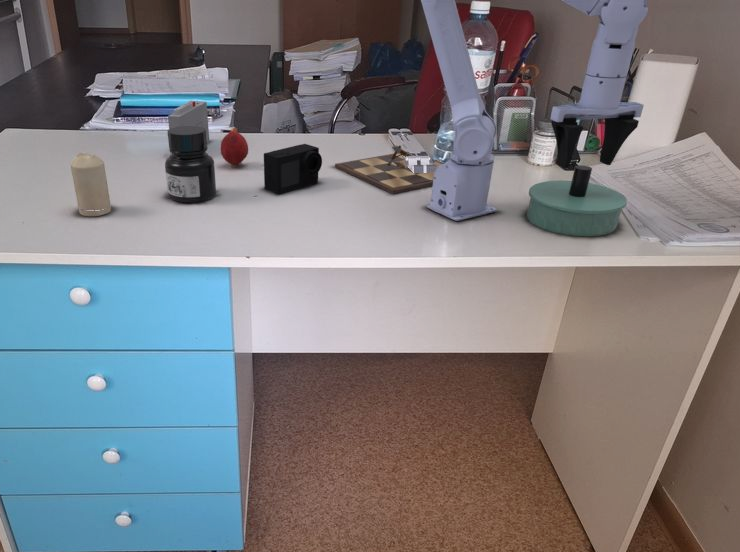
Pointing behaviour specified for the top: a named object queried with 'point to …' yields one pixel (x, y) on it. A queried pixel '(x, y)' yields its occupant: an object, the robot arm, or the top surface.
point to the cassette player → (190, 116)
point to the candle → (90, 184)
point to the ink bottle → (189, 165)
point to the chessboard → (388, 173)
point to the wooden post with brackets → (402, 152)
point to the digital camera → (291, 168)
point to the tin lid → (578, 194)
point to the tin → (571, 221)
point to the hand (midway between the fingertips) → (584, 165)
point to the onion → (234, 147)
